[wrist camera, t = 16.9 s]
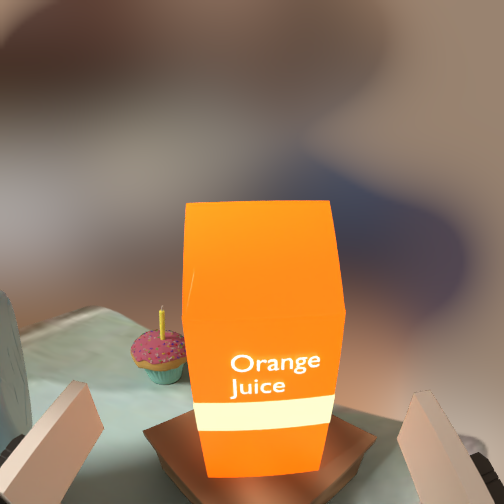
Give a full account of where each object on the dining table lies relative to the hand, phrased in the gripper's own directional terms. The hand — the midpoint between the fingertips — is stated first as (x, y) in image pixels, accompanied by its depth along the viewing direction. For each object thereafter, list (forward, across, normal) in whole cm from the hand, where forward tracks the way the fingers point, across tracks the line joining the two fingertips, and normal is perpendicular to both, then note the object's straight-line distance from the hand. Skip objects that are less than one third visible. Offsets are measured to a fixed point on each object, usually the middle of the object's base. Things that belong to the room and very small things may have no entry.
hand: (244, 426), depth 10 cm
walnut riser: (+10, 0, -18) cm, 21 cm away
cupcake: (+27, -14, -19) cm, 36 cm away
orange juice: (+10, 0, -13) cm, 16 cm away
